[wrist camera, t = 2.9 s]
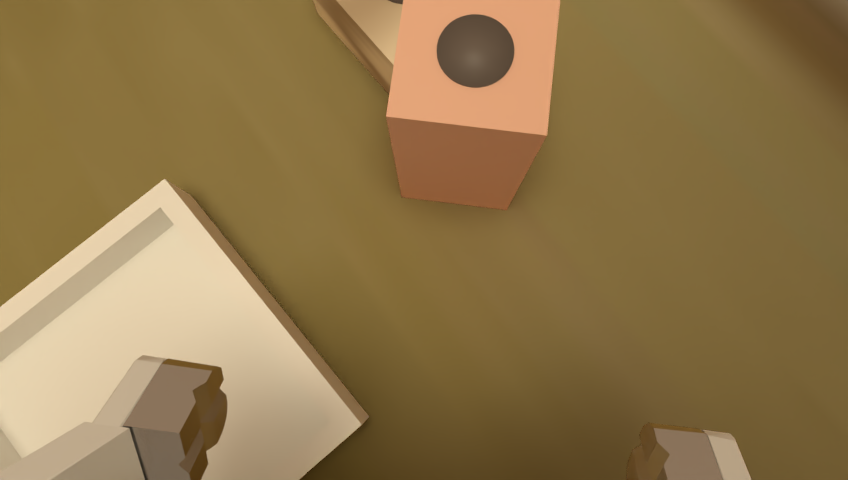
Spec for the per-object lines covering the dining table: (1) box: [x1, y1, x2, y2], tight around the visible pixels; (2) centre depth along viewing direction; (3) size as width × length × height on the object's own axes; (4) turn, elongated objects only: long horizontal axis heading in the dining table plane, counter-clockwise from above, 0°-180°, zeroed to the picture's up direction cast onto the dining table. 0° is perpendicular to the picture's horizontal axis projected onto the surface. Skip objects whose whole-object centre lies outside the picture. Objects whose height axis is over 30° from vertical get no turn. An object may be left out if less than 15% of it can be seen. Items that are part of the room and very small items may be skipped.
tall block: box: [386, 0, 560, 210], centre depth 21 cm, size 4×4×9 cm
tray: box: [0, 179, 369, 480], centre depth 23 cm, size 12×12×3 cm
